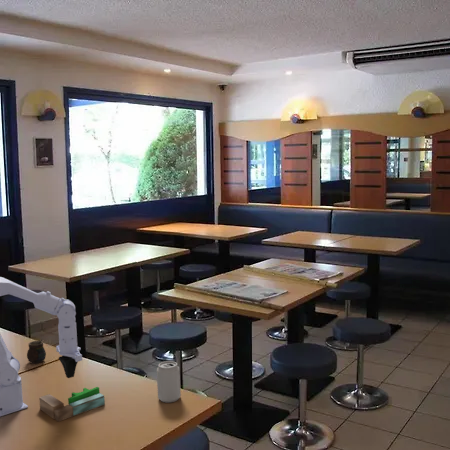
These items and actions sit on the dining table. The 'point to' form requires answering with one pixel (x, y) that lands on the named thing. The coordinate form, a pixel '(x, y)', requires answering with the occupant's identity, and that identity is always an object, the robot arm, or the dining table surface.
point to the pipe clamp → (83, 394)
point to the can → (168, 381)
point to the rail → (79, 407)
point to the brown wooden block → (50, 404)
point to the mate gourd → (36, 352)
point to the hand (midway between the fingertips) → (70, 377)
